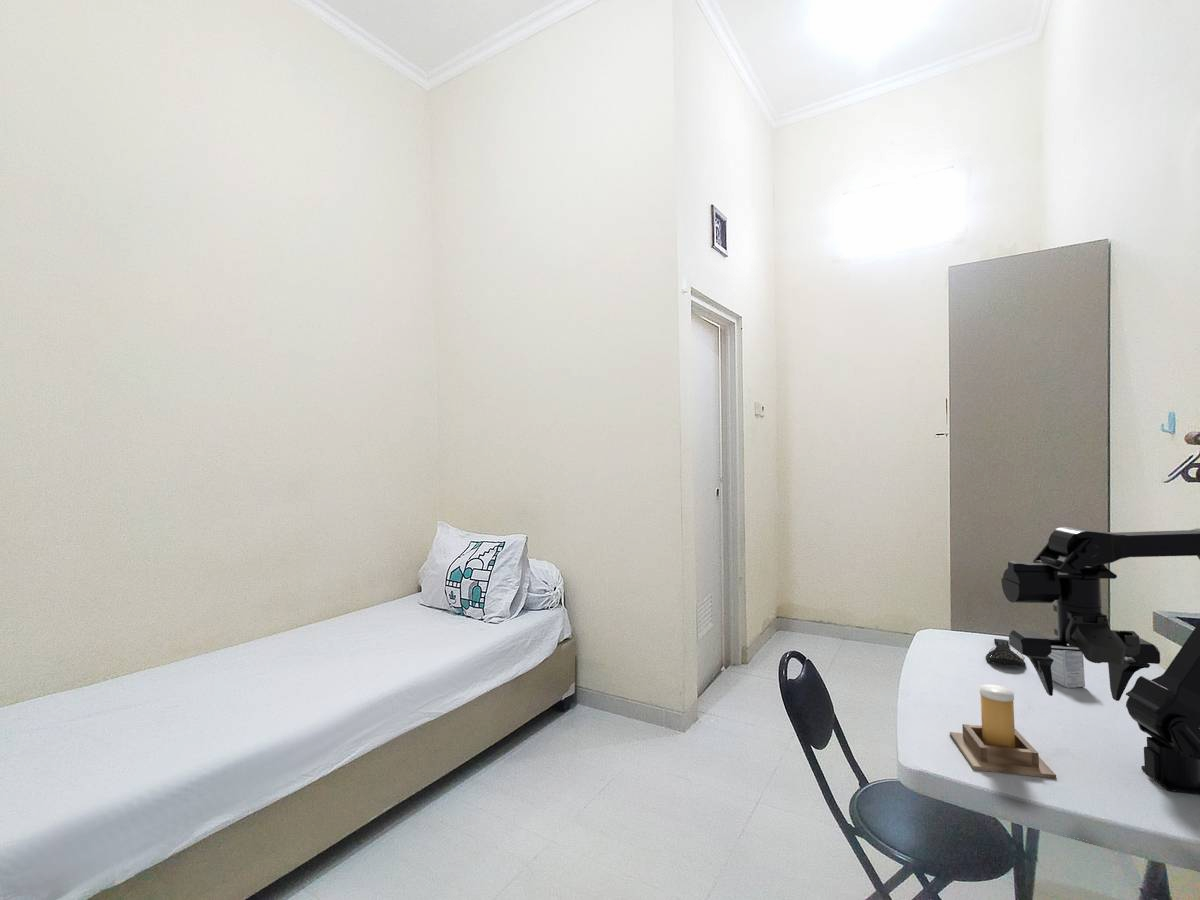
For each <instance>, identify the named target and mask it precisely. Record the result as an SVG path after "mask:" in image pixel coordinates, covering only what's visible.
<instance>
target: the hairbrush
mask: <svg viewBox="0 0 1200 900" xmlns="http://www.w3.org/2000/svg"><path fill="white" fill-rule="evenodd" d="M993 640H994V642H995V643H997V645H996V647H992V648H991V649H990V650H989V651H988V653H987V654H986V655H985V660H987V661H986V662H990V663H991V662H992V663H999V664H1004V665H1005V664H1007V665H1013V666H1019V667H1025V668H1026V667H1027V665H1026V664H1027V663H1026V662H1025V656H1024V655H1022V654H1021V653H1020V652H1018V651H1016V652H1015V651H1013V650H1011V649H1012V648H1013V647H1012V646H1011V648H1010V645H1009V639H1008V640H1007V639H1001V638H994V639H993ZM1008 645H1009V646H1008ZM991 655H992V656H991ZM990 656H991V657H990ZM995 656H996V657H995Z"/></svg>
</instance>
